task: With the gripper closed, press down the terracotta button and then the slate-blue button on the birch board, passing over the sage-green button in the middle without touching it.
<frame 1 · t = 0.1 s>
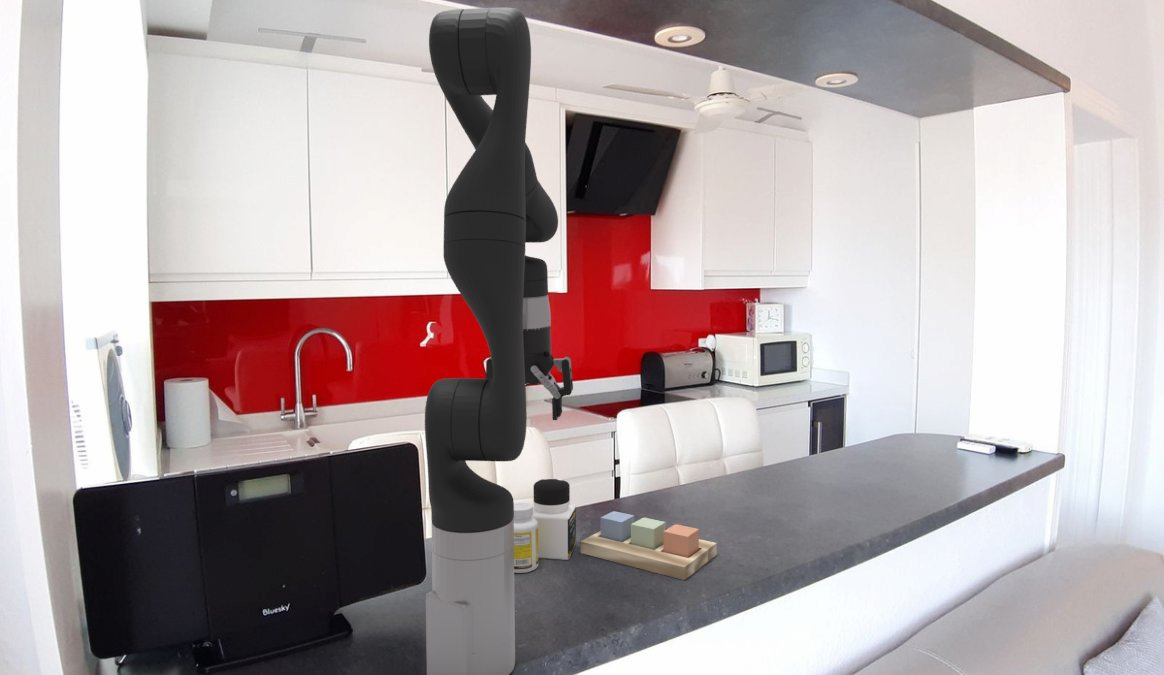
hand: (530, 418, 110), 22 cm above the counter, tool pointing down, fingers open, 8 cm apart
supplement bottle: (521, 568, 104), on the counter
medicine bottle: (551, 552, 111), on the counter
slate button: (617, 526, 113), point 3 cm above the counter, slide at 0.0 cm
board: (648, 553, 109), on the counter
terracotta button: (681, 540, 106), point 3 cm above the counter, slide at 0.0 cm
sage button: (648, 533, 109), point 3 cm above the counter, slide at 0.0 cm
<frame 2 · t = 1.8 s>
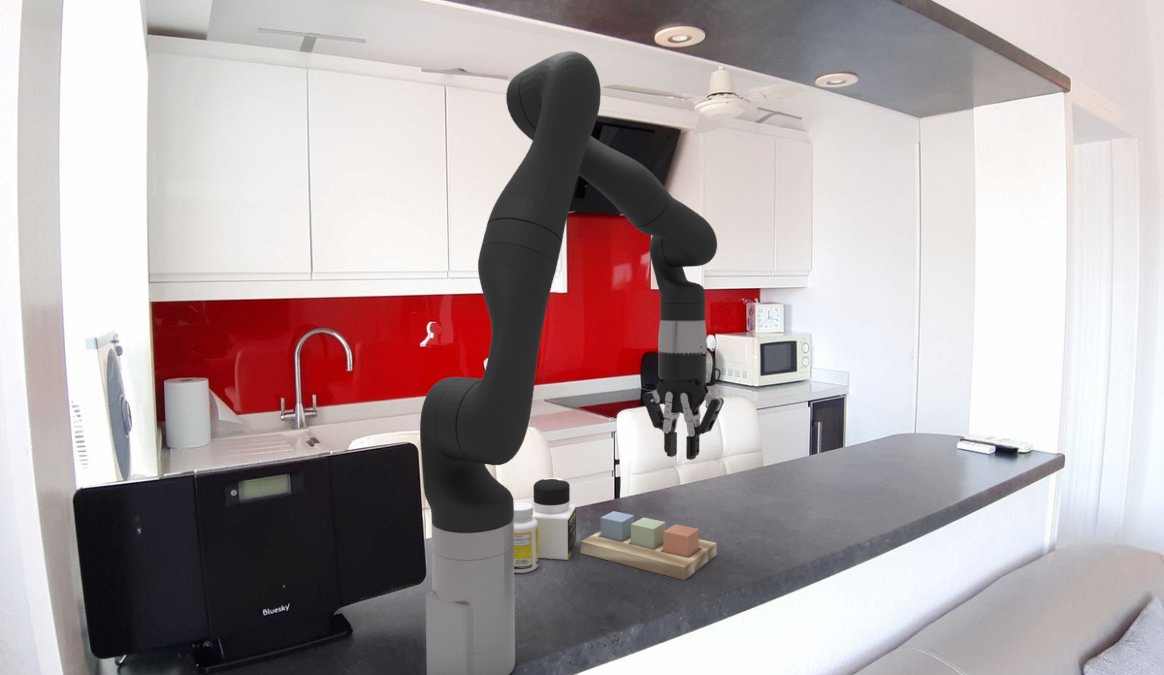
hand: (681, 456, 105), 17 cm above the counter, tool pointing down, fingers open, 3 cm apart
nothing on the counter moved.
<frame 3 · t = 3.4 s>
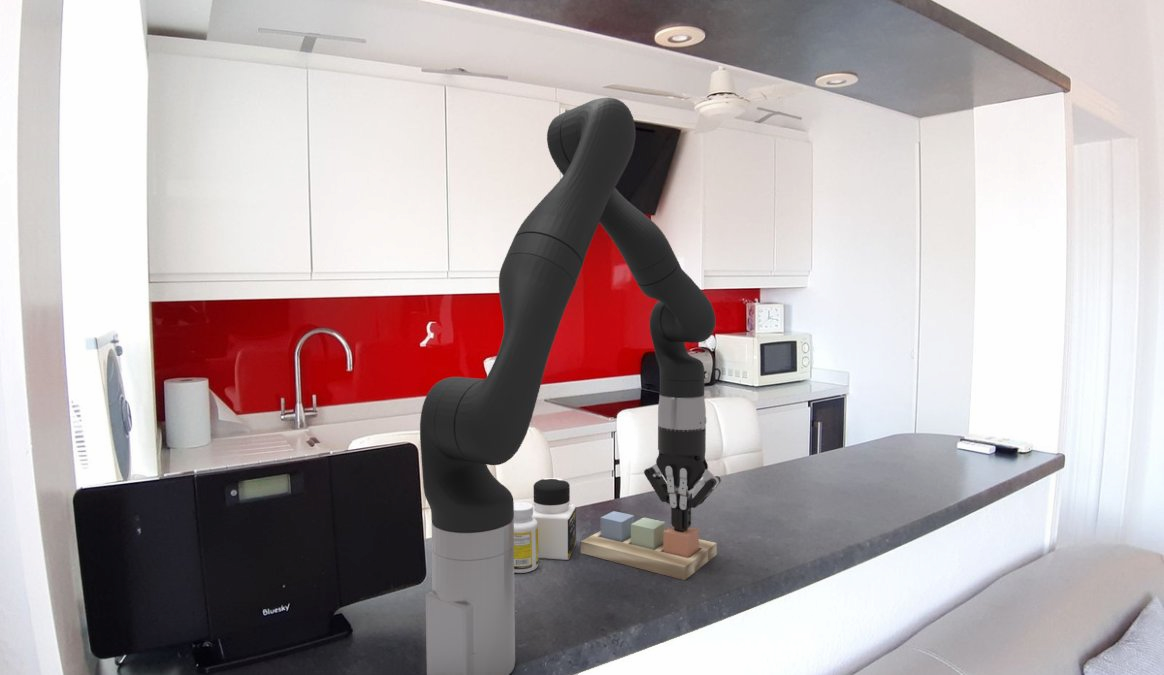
hand: (681, 529, 106), 5 cm above the counter, tool pointing down, fingers closed
terracotta button: (681, 541, 106), point 3 cm above the counter, slide at 0.0 cm, touching gripper
everything else where it was.
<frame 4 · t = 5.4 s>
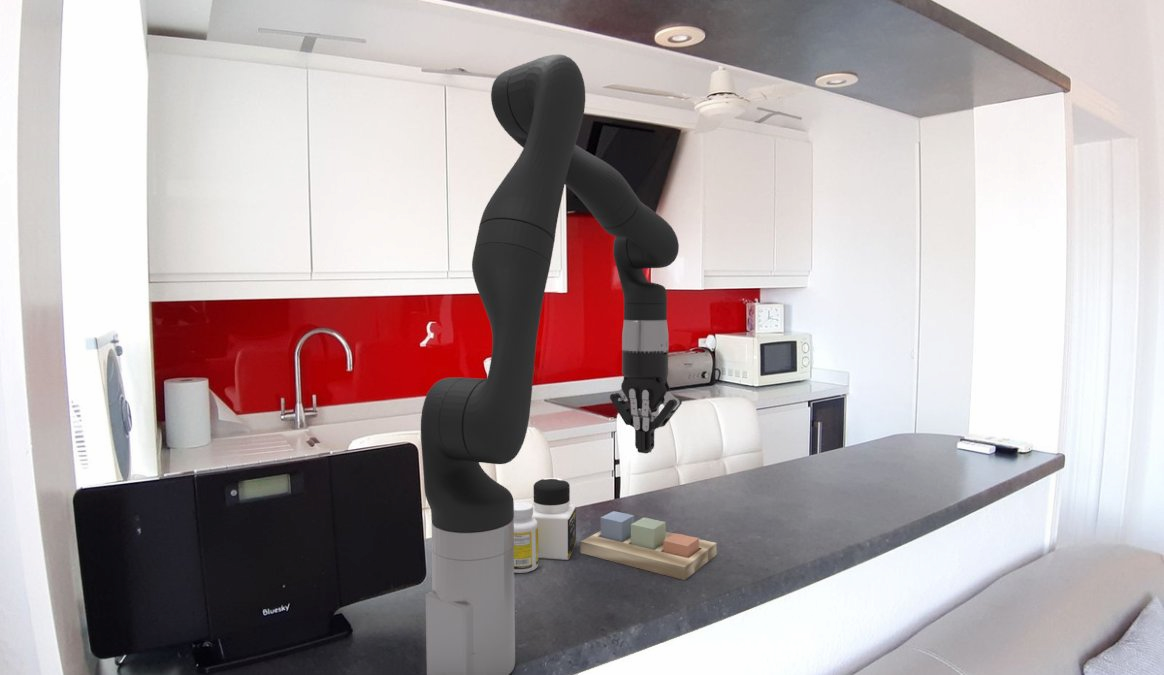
hand: (644, 452, 109), 17 cm above the counter, tool pointing down, fingers closed
terracotta button: (681, 550, 106), point 2 cm above the counter, slide at -1.5 cm
everything else where it was.
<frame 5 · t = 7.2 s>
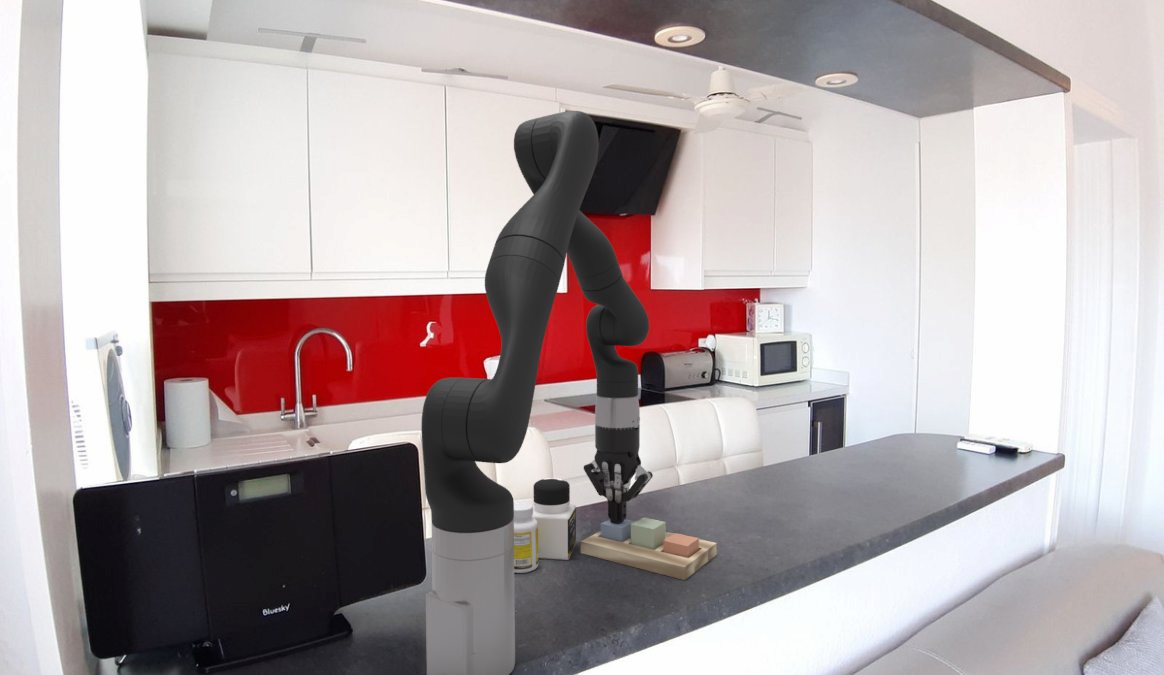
hand: (617, 522, 113), 4 cm above the counter, tool pointing down, fingers closed
slate button: (617, 532, 113), point 2 cm above the counter, slide at -1.0 cm, touching gripper
everything else where it was.
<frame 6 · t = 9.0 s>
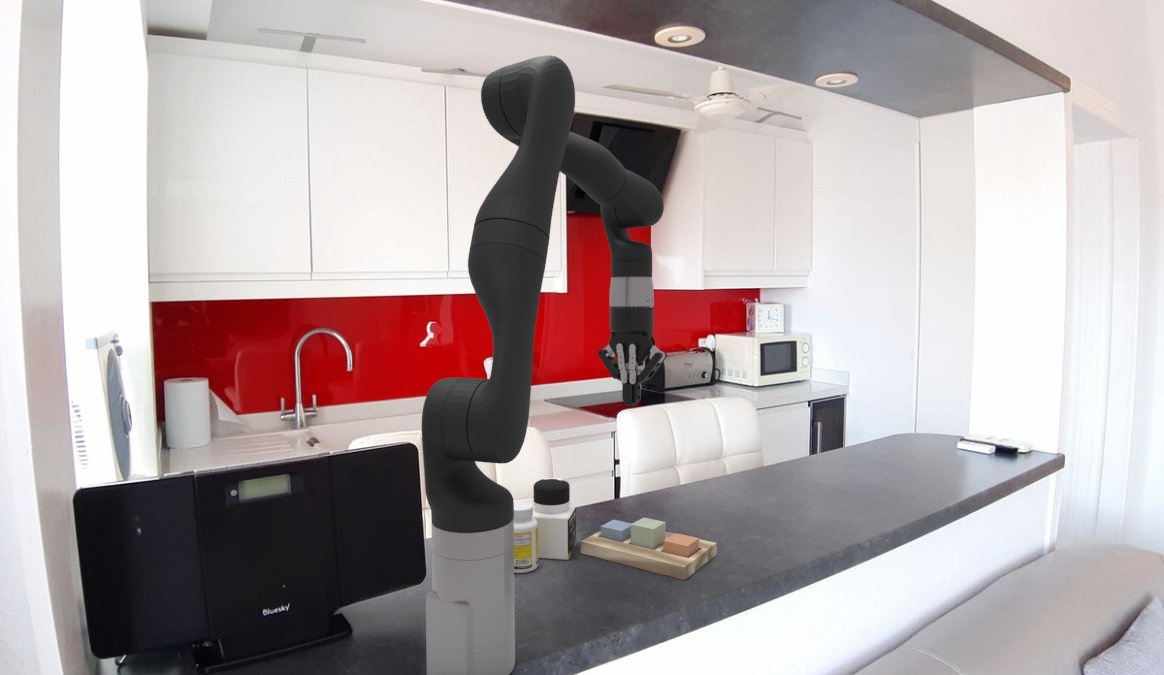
hand: (631, 404, 114), 24 cm above the counter, tool pointing down, fingers closed
slate button: (617, 535, 113), point 2 cm above the counter, slide at -1.5 cm
everything else where it was.
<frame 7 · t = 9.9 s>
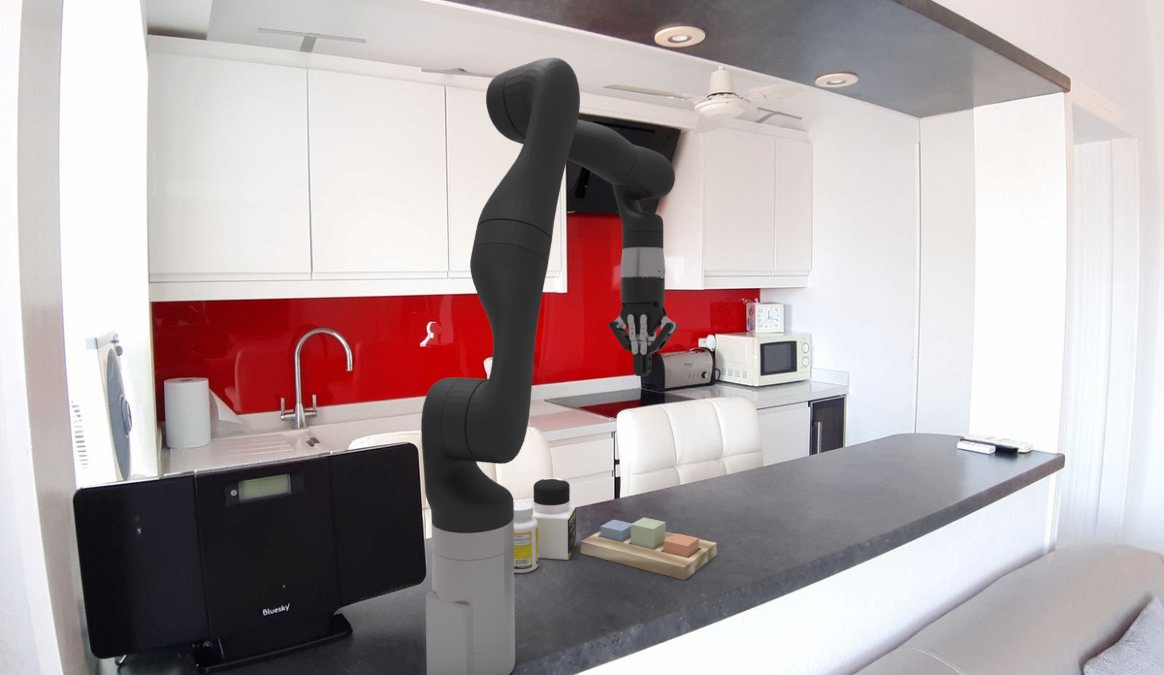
hand: (642, 375, 114), 29 cm above the counter, tool pointing down, fingers closed
nothing on the counter moved.
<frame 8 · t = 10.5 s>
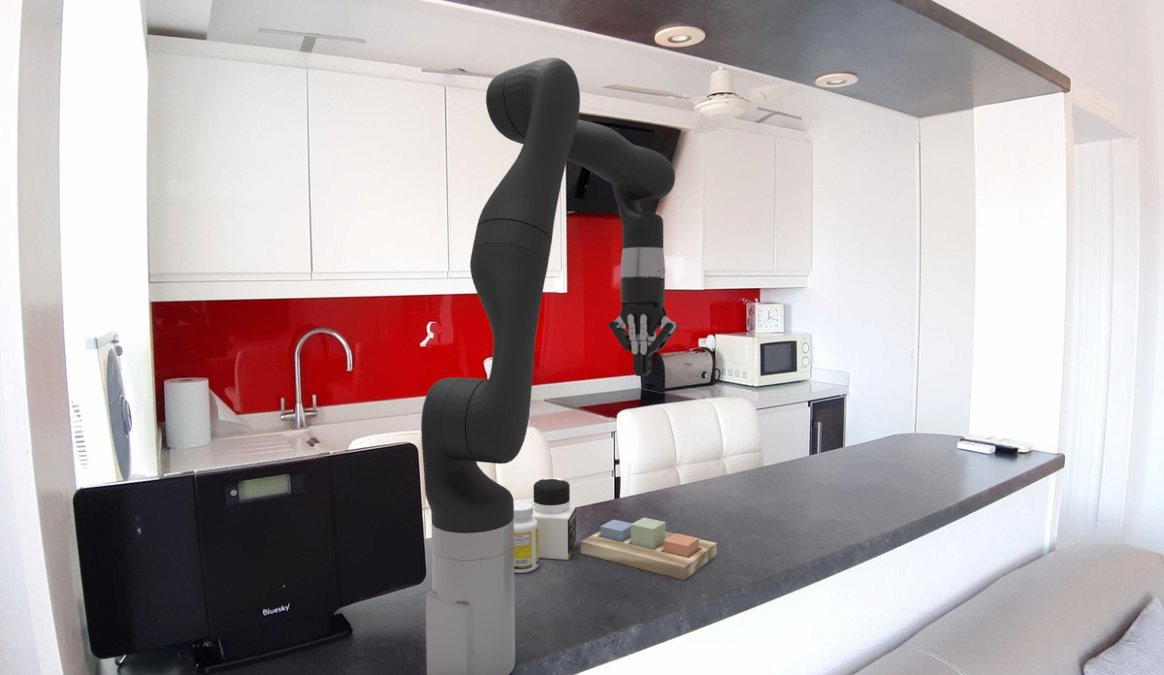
hand: (642, 375, 114), 29 cm above the counter, tool pointing down, fingers closed
nothing on the counter moved.
at the end: terracotta button slide at -1.5 cm; slate button slide at -1.5 cm; sage button slide at 0.0 cm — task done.
